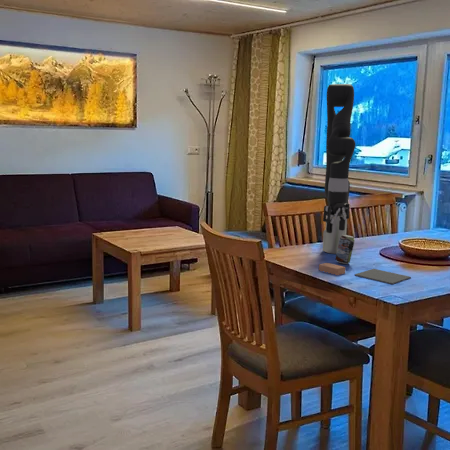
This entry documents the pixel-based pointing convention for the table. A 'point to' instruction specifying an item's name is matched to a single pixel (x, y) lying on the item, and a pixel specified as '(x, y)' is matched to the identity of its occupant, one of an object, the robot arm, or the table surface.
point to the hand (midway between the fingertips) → (335, 231)
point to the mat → (382, 276)
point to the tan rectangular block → (332, 268)
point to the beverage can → (345, 249)
